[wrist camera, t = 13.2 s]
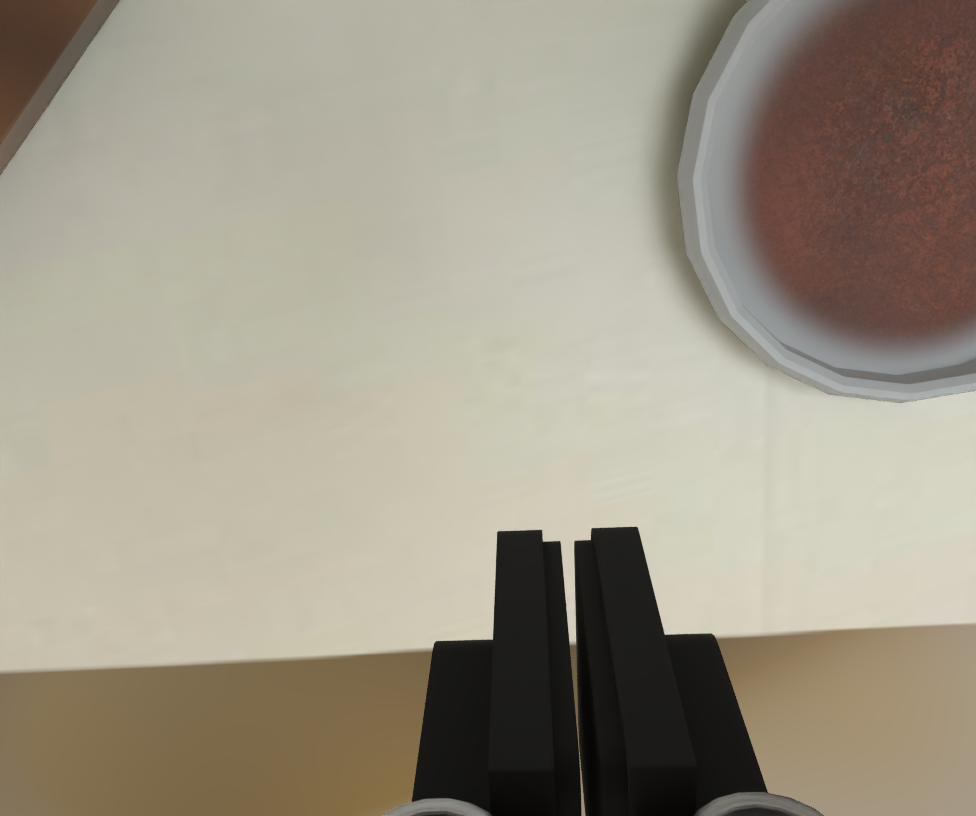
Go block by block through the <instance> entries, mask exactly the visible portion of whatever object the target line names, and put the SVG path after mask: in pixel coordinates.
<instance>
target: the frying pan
mask: <svg viewBox="0 0 976 816" xmlns="http://www.w3.org/2000/svg"><path fill="white" fill-rule="evenodd" d="M677 181H678V190H679V198H680V206H681V214H682V223H683V231H684V239H685V247H686V253H687V256H688V258H689V260H690V262H691V264H692V266H693V268H694V270H695V272H696V274H697V276H698V278H699V280H700V282H701V284H702V286H703V288H704V291H705V293H706V295H707V297H708V299H709V301H710V303H711V305H712V307H713V309H714V311H715V313H716V315H717V317H718V318H719V319H720V320H721V321H722V322H723V323H724V324H725V325H726V326H727V327H728V328H729V329H730V330H731V331H732V332H733V333H734V334H735V335H736V336H737V337H738V338H739V339H740V340H741V341H742V342H743V343H744V344H745V345H746V346H747V347H748V348H750V349H751V350H752V351H753V352H754V353H755V354H756V355H757V356H758V357H759V358H760V359H761V360H762V361H763V362H764V363H765V364H766V365H767V366H769V367H771V368H774V369H776V370H778V371H780V372H782V373H784V374H786V375H789V376H791V377H793V378H795V379H797V380H799V381H801V382H804V383H806V384H808V385H810V386H812V387H814V388H816V389H818V390H821V391H823V392H825V393H827V394H830V395H838V396H846V397H854V398H862V399H870V400H878V401H887V402H895V403H904V402H910V401H916V400H922V399H928V398H934V397H940V396H946V395H952V394H958V393H964V392H970V391H975V390H976V0H748V1H747V2H746V3H745V4H744V5H743V6H742V7H741V8H740V10H739V11H738V12H737V13H736V14H735V15H734V16H733V18H732V20H731V22H730V24H729V26H728V27H727V29H726V31H725V33H724V35H723V37H722V39H721V41H720V43H719V45H718V47H717V49H716V51H715V53H714V54H713V56H712V58H711V60H710V62H709V64H708V66H707V68H706V70H705V72H704V74H703V76H702V78H701V80H700V82H699V83H698V85H697V87H696V89H695V91H694V93H693V95H692V100H691V105H690V111H689V116H688V121H687V126H686V132H685V137H684V142H683V147H682V153H681V158H680V163H679V168H678V174H677Z"/></svg>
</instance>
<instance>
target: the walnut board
mask: <svg viewBox="0 0 976 816" xmlns="http://www.w3.org/2000/svg"><path fill="white" fill-rule="evenodd" d="M118 1H119V0H0V174H1V173H2V171H3V170H4V168H5V167H6V166H7V164H8V163H9V161H10V160H11V158H12V157H13V155H14V154H15V152H16V151H17V149H18V148H19V146H20V145H21V144H22V142H23V141H24V139H25V138H26V136H27V135H28V133H29V132H30V130H31V129H32V127H33V126H34V125H35V123H36V122H37V120H38V119H39V117H40V116H41V114H42V113H43V111H44V110H45V108H46V107H47V105H48V104H49V103H50V101H51V100H52V98H53V97H54V95H55V94H56V92H57V91H58V89H59V88H60V86H61V85H62V83H63V82H64V81H65V79H66V78H67V76H68V75H69V73H70V72H71V70H72V69H73V67H74V66H75V64H76V63H77V61H78V60H79V59H80V57H81V56H82V54H83V53H84V51H85V50H86V48H87V47H88V45H89V44H90V42H91V41H92V39H93V38H94V37H95V35H96V34H97V32H98V31H99V29H100V28H101V26H102V25H103V23H104V22H105V20H106V19H107V17H108V16H109V15H110V13H111V12H112V10H113V9H114V7H115V6H116V4H117V3H118Z"/></svg>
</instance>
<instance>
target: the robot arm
mask: <svg viewBox="0 0 976 816" xmlns="http://www.w3.org/2000/svg"><path fill="white" fill-rule="evenodd" d="M574 556H575V600H576V644H577V688H578V726H579V747H580V759H581V771H582V782H583V793H584V804H585V815H586V816H824V815H823V814H821V813H820V812H819V811H817V810H816V809H814V808H812V807H810V806H808V805H805V804H803V803H801V802H799V801H796V800H794V799H792V798H789V797H784V796H780V795H775V794H769V793H768V792H767V789H766V786H765V783H764V780H763V777H762V774H761V771H760V768H759V765H758V762H757V759H756V756H755V753H754V750H753V747H752V744H751V741H750V738H749V735H748V732H747V729H746V726H745V723H744V720H743V717H742V714H741V711H740V709H739V705H738V702H737V699H736V696H735V693H734V690H733V687H732V684H731V681H730V678H729V675H728V672H727V669H726V666H725V663H724V660H723V657H722V654H721V651H720V649H719V646H718V643H717V641H716V638H715V636H714V635H712V634H677V635H664V631H663V627H662V623H661V619H660V615H659V611H658V607H657V603H656V599H655V595H654V591H653V587H652V583H651V579H650V575H649V571H648V566H647V562H646V558H645V554H644V550H643V546H642V542H641V538H640V534H639V531H638V528H637V527H616V528H592V530H591V540H583V541H575V542H574ZM382 816H581V785H580V764H579V749H578V737H577V726H576V715H575V703H574V691H573V680H572V669H571V657H570V645H569V634H568V623H567V611H566V600H565V588H564V577H563V565H562V554H561V543H560V541H553V542H543V539H542V530H526V531H498V532H497V555H496V580H495V606H494V631H493V640H463V641H436V642H435V643H434V647H433V652H432V659H431V667H430V674H429V681H428V688H427V695H426V703H425V710H424V717H423V724H422V732H421V740H420V747H419V754H418V761H417V768H416V775H415V783H414V790H413V797H412V802H411V803H407V804H404V805H400V806H398V807H397V808H395V809H393V810H391V811H389V812H387V813H385V814H384V815H382Z"/></svg>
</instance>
